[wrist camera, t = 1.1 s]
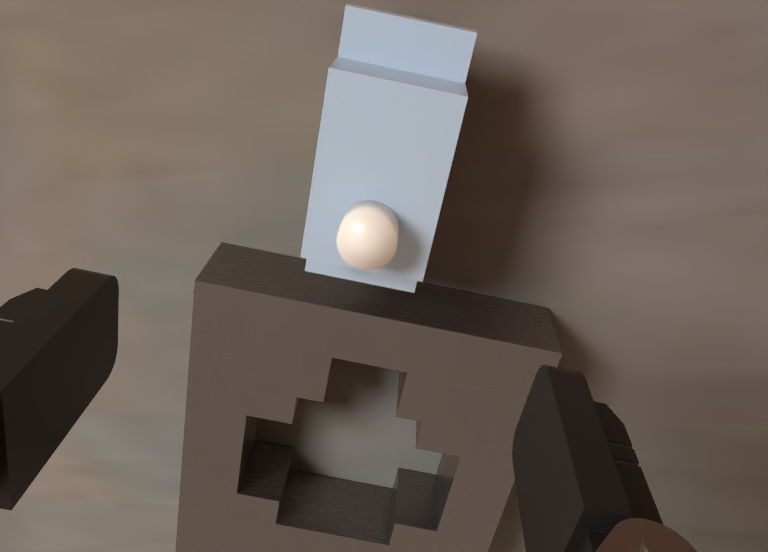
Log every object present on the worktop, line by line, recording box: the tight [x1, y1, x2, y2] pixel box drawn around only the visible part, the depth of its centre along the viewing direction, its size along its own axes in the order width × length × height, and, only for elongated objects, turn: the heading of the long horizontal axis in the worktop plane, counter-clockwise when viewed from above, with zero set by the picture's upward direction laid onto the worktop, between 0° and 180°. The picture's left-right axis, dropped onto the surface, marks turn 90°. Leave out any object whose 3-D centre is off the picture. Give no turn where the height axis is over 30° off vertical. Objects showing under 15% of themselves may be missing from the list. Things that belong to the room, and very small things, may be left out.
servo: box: [301, 3, 477, 293], centre depth 22 cm, size 9×4×7 cm, turn 169°
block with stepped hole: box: [176, 243, 562, 552], centre depth 30 cm, size 16×14×4 cm
